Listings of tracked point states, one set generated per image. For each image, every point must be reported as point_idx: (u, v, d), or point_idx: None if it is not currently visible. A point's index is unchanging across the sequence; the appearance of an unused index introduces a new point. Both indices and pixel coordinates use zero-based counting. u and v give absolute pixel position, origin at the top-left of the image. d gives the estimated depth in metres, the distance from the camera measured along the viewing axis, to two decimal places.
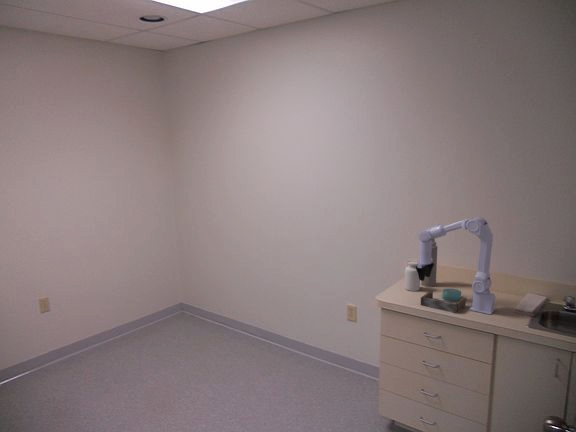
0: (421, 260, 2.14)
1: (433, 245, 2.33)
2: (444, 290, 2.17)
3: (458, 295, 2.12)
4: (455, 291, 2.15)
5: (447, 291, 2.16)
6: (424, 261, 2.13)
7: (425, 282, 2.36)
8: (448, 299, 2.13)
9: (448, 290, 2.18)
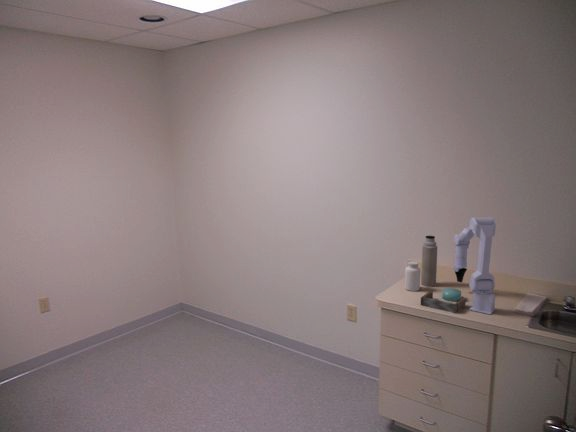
0: (457, 264, 2.22)
1: (433, 245, 2.33)
2: (444, 290, 2.17)
3: (459, 295, 2.12)
4: (455, 291, 2.15)
5: (447, 291, 2.15)
6: (460, 265, 2.21)
7: (425, 282, 2.36)
8: (449, 299, 2.13)
9: (448, 289, 2.18)
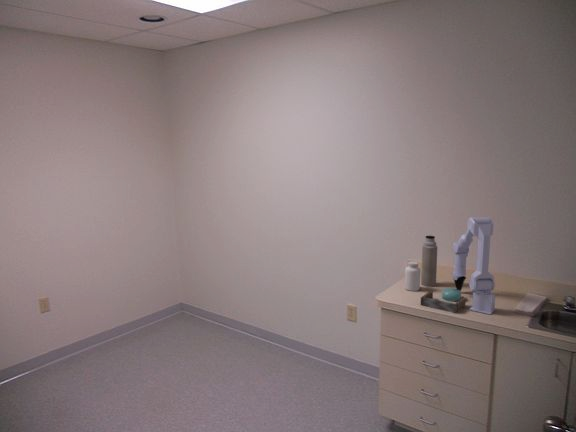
0: (456, 272, 2.22)
1: (433, 245, 2.33)
2: (444, 290, 2.17)
3: (459, 294, 2.12)
4: (454, 291, 2.15)
5: (447, 291, 2.15)
6: (459, 273, 2.21)
7: (425, 282, 2.36)
8: (449, 299, 2.13)
9: (447, 289, 2.18)
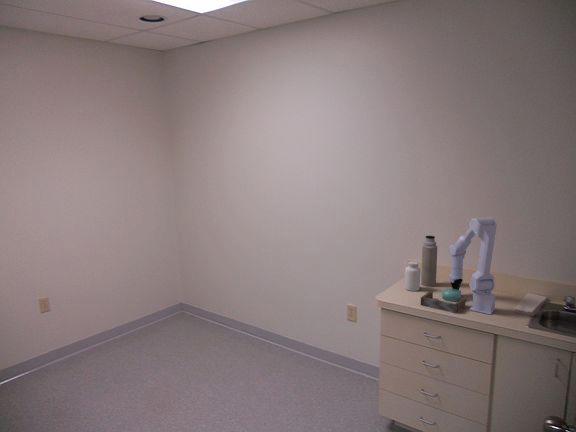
0: (452, 274, 2.18)
1: (433, 245, 2.33)
2: (444, 290, 2.17)
3: (459, 294, 2.12)
4: (454, 290, 2.16)
5: (447, 291, 2.15)
6: (456, 275, 2.17)
7: (425, 282, 2.36)
8: (450, 299, 2.12)
9: (447, 290, 2.18)
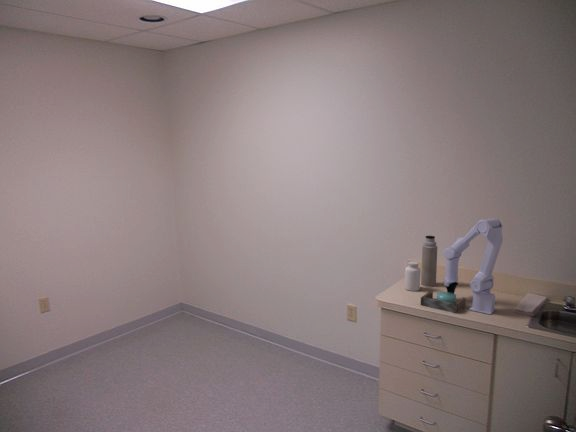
0: (447, 278, 2.12)
1: (433, 245, 2.33)
2: (439, 294, 2.11)
3: (454, 298, 2.07)
4: (449, 294, 2.10)
5: (442, 295, 2.10)
6: (451, 279, 2.11)
7: (425, 282, 2.36)
8: None
9: (442, 293, 2.12)
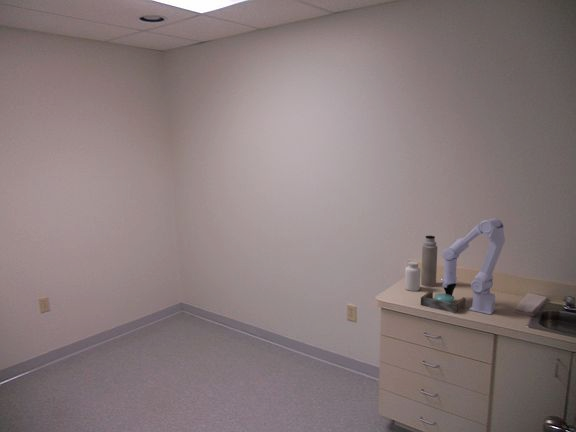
0: (446, 279, 2.10)
1: (433, 245, 2.33)
2: (436, 295, 2.10)
3: (452, 300, 2.05)
4: (447, 296, 2.08)
5: (440, 296, 2.08)
6: (449, 280, 2.09)
7: (425, 282, 2.36)
8: None
9: (440, 295, 2.10)
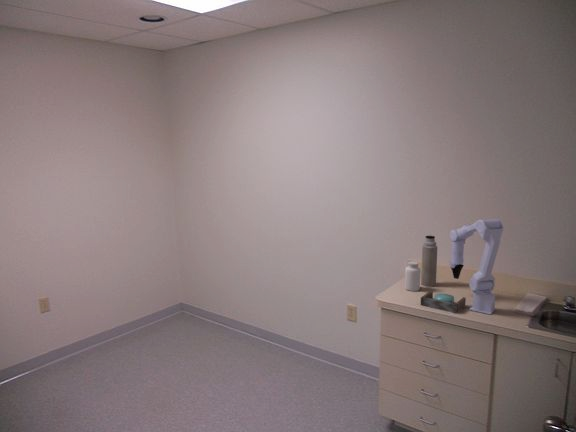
0: (453, 260, 2.17)
1: (433, 245, 2.33)
2: (436, 295, 2.10)
3: (452, 300, 2.05)
4: (447, 296, 2.08)
5: (440, 296, 2.08)
6: (456, 261, 2.16)
7: (425, 282, 2.36)
8: None
9: (440, 295, 2.10)
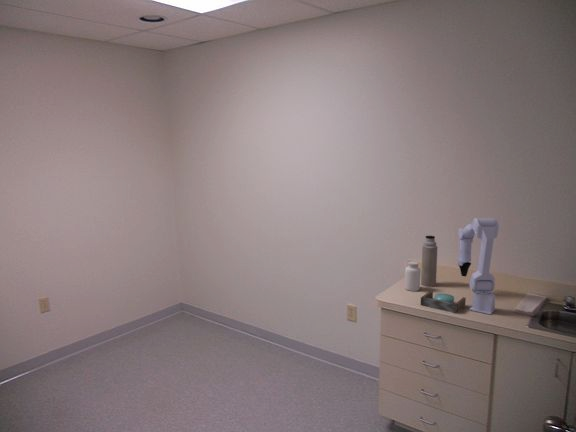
0: (461, 258, 2.20)
1: (433, 245, 2.33)
2: (436, 296, 2.09)
3: (452, 300, 2.05)
4: (447, 296, 2.08)
5: (440, 296, 2.08)
6: (464, 259, 2.19)
7: (425, 282, 2.36)
8: None
9: (440, 295, 2.10)
